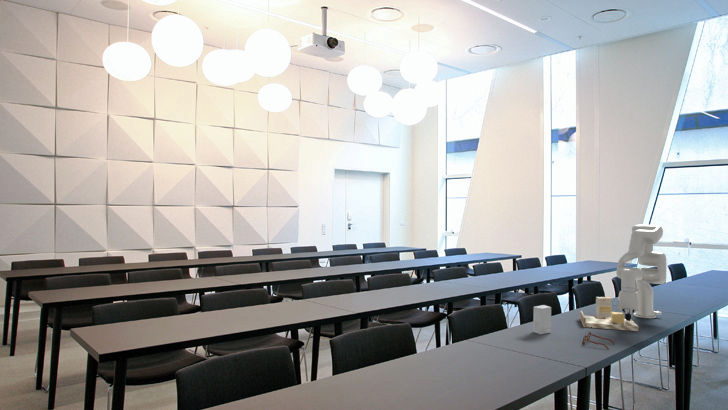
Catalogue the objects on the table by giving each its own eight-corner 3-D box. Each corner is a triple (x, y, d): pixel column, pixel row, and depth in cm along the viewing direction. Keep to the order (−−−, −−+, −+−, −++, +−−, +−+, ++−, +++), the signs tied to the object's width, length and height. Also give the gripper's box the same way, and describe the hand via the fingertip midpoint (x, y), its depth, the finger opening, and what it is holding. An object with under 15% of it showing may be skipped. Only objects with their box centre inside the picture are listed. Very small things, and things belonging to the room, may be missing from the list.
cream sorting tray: (631, 323, 298) (631, 314, 298) (638, 331, 279) (638, 321, 279) (579, 319, 307) (580, 310, 307) (583, 326, 288) (583, 317, 288)
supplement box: (608, 317, 314) (608, 296, 314) (611, 318, 309) (612, 298, 309) (595, 316, 315) (595, 296, 315) (598, 318, 310) (598, 297, 310)
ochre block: (622, 320, 293) (622, 312, 293) (624, 323, 288) (624, 314, 288) (611, 320, 295) (611, 311, 295) (612, 322, 290) (612, 313, 290)
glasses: (588, 340, 262) (588, 330, 262) (615, 344, 254) (615, 335, 254) (581, 345, 252) (581, 335, 252) (609, 350, 243) (609, 340, 243)
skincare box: (543, 330, 279) (543, 304, 279) (551, 333, 274) (551, 306, 274) (532, 332, 276) (532, 305, 276) (540, 334, 270) (540, 308, 270)
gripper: (640, 289, 291) (640, 320, 291) (613, 287, 296) (613, 318, 296) (644, 291, 284) (643, 322, 284) (615, 289, 288) (615, 320, 288)
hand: (628, 320), depth 290 cm, fingers closed
